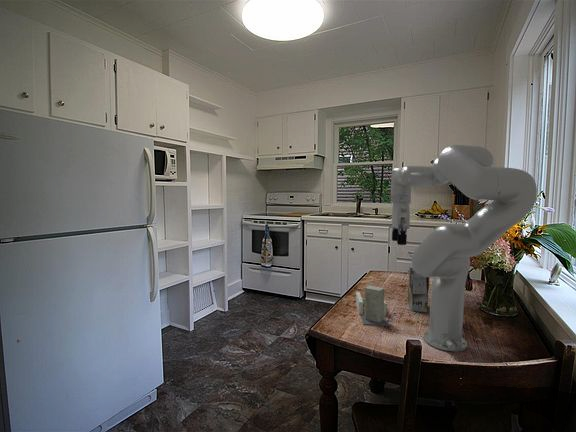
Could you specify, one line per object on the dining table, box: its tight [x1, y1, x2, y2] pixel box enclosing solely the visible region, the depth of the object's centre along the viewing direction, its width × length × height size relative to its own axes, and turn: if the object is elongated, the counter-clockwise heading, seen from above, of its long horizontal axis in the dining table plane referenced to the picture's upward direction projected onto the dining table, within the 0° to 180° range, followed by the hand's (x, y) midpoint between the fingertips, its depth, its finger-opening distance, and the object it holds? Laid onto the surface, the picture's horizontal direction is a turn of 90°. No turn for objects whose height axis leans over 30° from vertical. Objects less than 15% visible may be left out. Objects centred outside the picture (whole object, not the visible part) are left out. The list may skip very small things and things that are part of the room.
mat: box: [360, 313, 390, 327], centre depth 116 cm, size 9×9×1 cm
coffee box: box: [407, 267, 430, 313], centre depth 129 cm, size 9×6×16 cm
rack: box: [355, 291, 388, 317], centre depth 127 cm, size 12×10×5 cm
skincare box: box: [364, 284, 385, 323], centre depth 115 cm, size 6×4×12 cm
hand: (398, 242), depth 122 cm, fingers open, 9 cm apart
